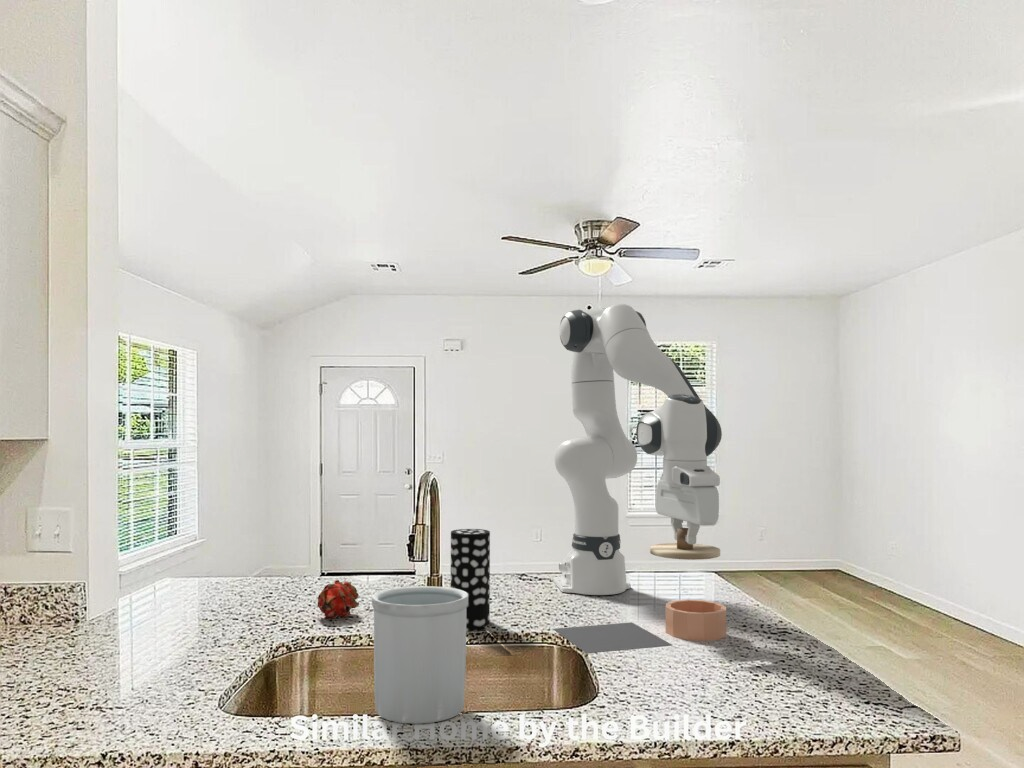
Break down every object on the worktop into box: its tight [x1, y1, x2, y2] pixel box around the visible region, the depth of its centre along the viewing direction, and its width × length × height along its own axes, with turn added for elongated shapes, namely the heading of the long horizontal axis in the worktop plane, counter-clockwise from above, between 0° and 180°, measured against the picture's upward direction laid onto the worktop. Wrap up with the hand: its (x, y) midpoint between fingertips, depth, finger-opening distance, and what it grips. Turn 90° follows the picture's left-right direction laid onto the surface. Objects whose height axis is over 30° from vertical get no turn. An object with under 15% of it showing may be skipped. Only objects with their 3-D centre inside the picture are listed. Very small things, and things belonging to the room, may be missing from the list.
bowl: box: [665, 599, 727, 642], centre depth 173 cm, size 12×12×6 cm
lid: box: [649, 527, 721, 561], centre depth 173 cm, size 14×14×5 cm
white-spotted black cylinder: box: [450, 528, 491, 632], centre depth 181 cm, size 8×8×20 cm
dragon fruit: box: [316, 579, 360, 620], centre depth 188 cm, size 8×8×12 cm
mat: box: [552, 621, 673, 654], centre depth 170 cm, size 18×18×1 cm
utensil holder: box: [371, 585, 468, 725], centre depth 132 cm, size 15×15×18 cm
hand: (685, 542), depth 173 cm, fingers closed on lid, 3 cm apart
